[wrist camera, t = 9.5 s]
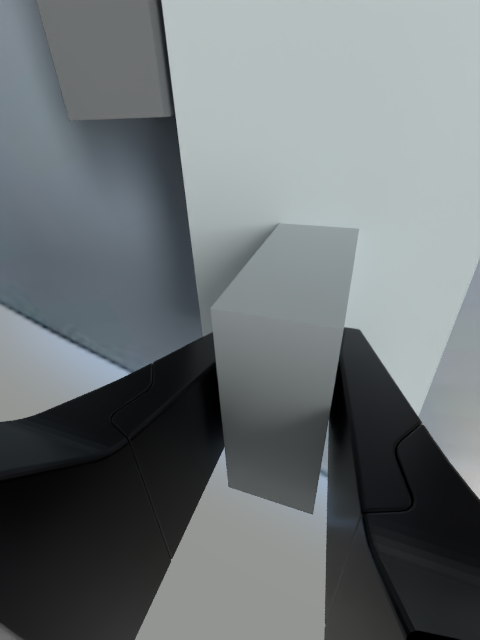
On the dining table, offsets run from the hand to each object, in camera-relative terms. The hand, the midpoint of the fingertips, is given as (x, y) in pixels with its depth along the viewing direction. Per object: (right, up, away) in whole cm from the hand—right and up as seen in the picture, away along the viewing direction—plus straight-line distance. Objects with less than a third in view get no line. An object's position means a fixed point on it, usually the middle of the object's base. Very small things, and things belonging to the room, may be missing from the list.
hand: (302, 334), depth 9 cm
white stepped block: (+1, +5, +2) cm, 5 cm away
